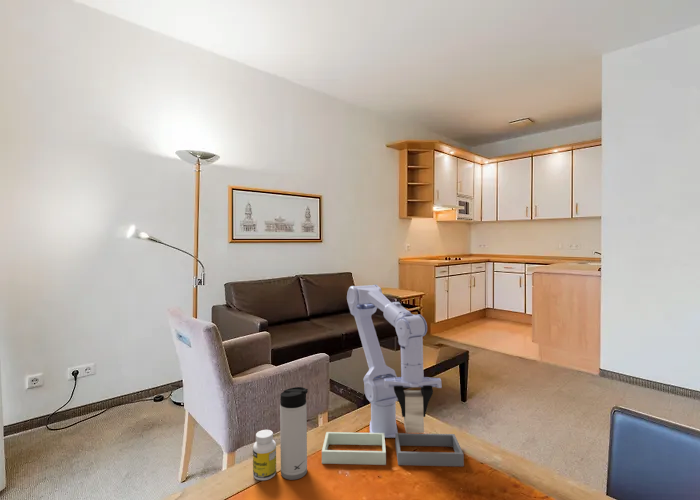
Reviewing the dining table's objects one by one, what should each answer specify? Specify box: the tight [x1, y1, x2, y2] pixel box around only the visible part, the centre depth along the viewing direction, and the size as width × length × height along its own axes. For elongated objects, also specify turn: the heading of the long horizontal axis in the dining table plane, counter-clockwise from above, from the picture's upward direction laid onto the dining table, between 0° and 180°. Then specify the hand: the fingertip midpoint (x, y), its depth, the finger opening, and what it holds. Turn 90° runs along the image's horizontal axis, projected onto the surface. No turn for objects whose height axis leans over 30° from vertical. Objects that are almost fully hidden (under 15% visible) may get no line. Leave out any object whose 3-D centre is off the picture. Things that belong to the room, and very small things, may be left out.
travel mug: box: [279, 386, 309, 481], centre depth 89 cm, size 6×7×20 cm
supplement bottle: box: [252, 429, 277, 481], centre depth 88 cm, size 5×5×10 cm
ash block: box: [403, 390, 425, 434], centre depth 96 cm, size 4×4×9 cm
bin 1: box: [321, 431, 387, 466], centre depth 97 cm, size 10×16×3 cm, turn 87°
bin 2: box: [395, 432, 465, 467], centre depth 96 cm, size 10×16×3 cm, turn 87°
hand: (413, 415), depth 96 cm, fingers closed on ash block, 4 cm apart
